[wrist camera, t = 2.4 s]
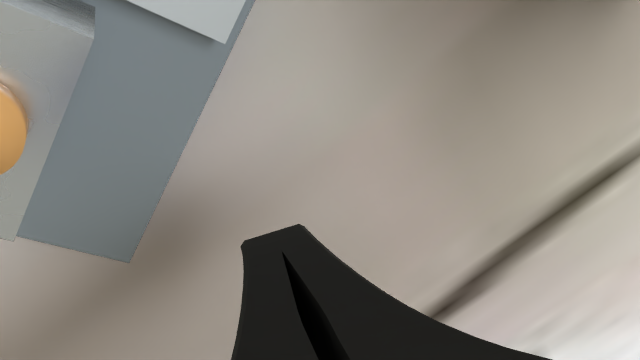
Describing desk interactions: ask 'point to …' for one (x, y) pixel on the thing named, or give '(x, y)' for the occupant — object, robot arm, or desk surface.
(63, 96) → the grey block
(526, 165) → the desk surface
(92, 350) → the desk surface
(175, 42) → the hole board
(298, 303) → the robot arm
